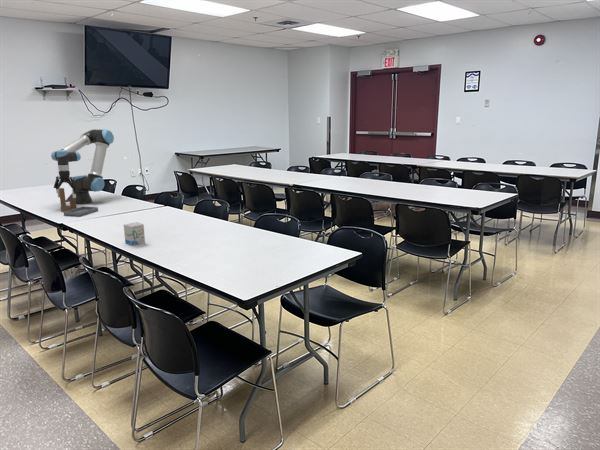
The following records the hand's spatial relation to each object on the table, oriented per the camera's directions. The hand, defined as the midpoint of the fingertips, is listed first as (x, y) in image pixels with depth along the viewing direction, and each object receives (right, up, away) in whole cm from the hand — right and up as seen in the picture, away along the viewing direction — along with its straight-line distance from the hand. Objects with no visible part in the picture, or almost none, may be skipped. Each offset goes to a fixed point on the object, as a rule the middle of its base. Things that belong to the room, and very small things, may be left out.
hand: (67, 197), depth 359 cm
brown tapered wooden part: (0, -10, +3) cm, 11 cm away
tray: (+15, -13, -8) cm, 21 cm away
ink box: (+84, -32, -86) cm, 125 cm away
